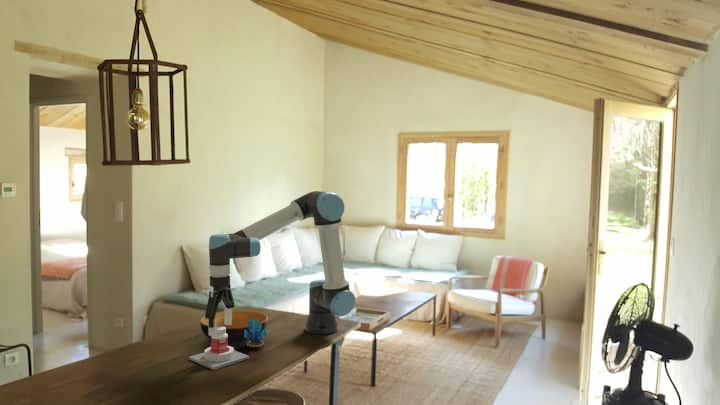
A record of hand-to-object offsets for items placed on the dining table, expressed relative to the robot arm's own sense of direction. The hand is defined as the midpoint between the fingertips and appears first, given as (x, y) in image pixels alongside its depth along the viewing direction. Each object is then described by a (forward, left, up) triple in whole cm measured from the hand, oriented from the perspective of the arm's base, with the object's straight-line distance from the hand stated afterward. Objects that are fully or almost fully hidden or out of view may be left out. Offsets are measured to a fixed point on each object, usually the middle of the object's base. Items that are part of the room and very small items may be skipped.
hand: (220, 330), depth 197 cm
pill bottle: (0, 0, -10) cm, 10 cm away
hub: (0, 0, -11) cm, 11 cm away
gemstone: (-20, -3, -12) cm, 23 cm away
